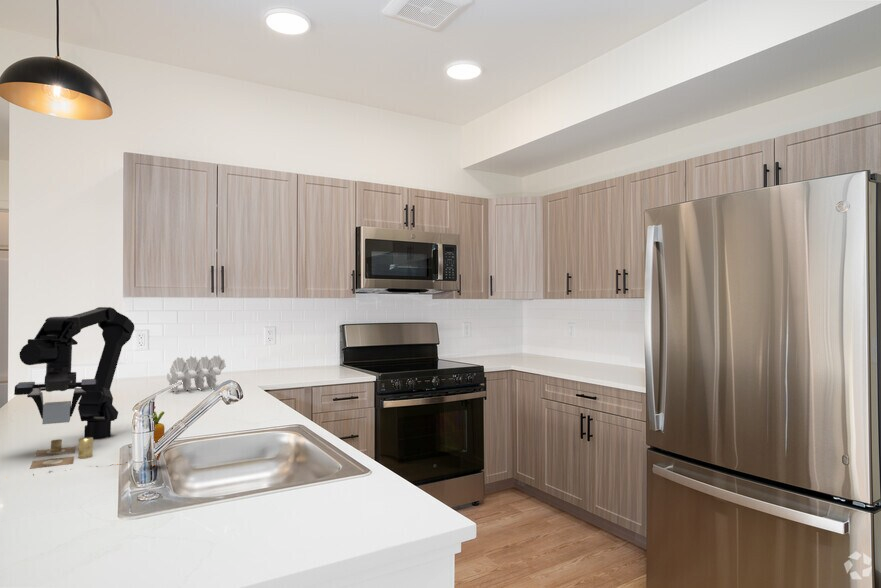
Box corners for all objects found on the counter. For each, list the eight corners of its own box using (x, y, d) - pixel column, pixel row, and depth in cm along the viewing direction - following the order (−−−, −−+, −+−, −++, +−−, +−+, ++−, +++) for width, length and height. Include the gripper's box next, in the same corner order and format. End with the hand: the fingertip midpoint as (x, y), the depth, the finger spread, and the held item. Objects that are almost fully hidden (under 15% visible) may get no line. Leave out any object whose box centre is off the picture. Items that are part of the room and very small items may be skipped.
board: (75, 449, 153) (76, 435, 154) (74, 456, 147) (75, 441, 147) (37, 454, 149) (37, 439, 149) (34, 461, 142) (34, 445, 142)
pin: (92, 458, 145) (93, 436, 145) (92, 461, 143) (92, 438, 143) (78, 459, 143) (79, 437, 144) (77, 462, 141) (78, 440, 141)
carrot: (167, 465, 140) (169, 408, 140) (155, 470, 135) (157, 411, 135) (150, 464, 140) (151, 407, 141) (137, 469, 136) (139, 411, 136)
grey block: (70, 418, 152) (71, 400, 152) (69, 422, 147) (70, 404, 147) (44, 420, 149) (45, 402, 149) (42, 424, 144) (43, 405, 144)
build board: (74, 459, 143) (74, 455, 143) (73, 467, 137) (73, 463, 137) (32, 464, 138) (32, 460, 138) (29, 472, 132) (29, 468, 132)
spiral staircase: (165, 400, 258) (215, 392, 276) (178, 388, 247) (229, 381, 265) (158, 365, 263) (208, 360, 281) (170, 352, 252) (221, 347, 271)
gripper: (12, 365, 137) (10, 426, 136) (98, 363, 147) (96, 419, 146) (18, 362, 146) (15, 418, 145) (98, 359, 156) (96, 412, 155)
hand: (56, 417), depth 148 cm, fingers closed on grey block, 6 cm apart
